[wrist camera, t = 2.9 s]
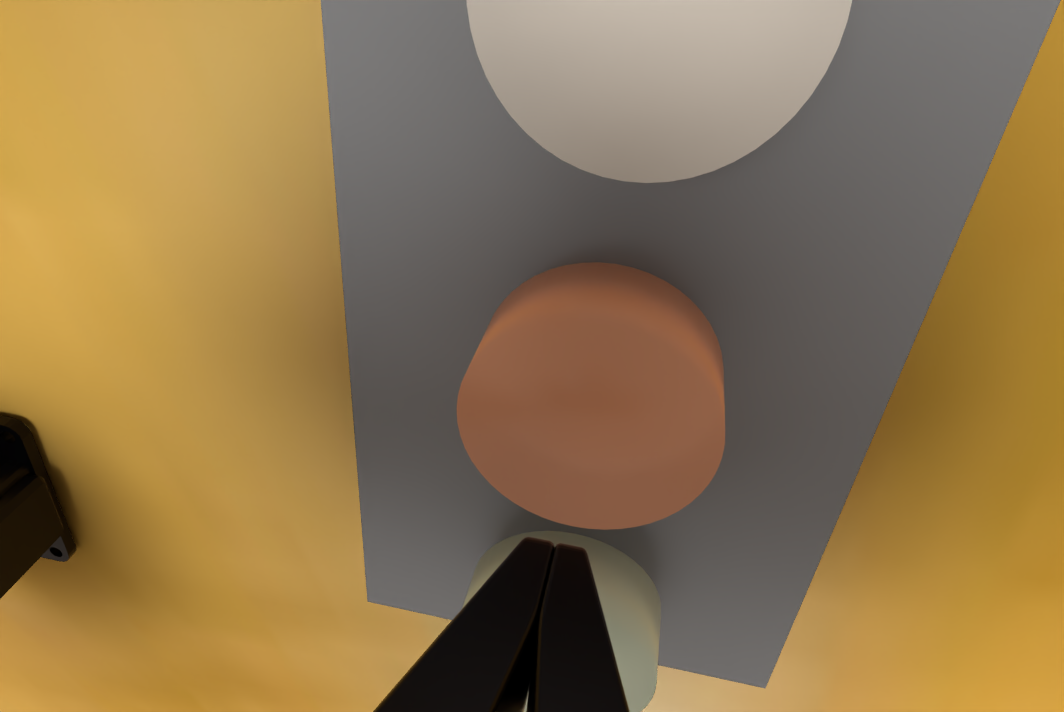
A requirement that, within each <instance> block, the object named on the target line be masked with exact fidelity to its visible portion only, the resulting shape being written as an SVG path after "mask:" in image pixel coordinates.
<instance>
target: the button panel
mask: <svg viewBox="0 0 1064 712" xmlns="http://www.w3.org/2000/svg"><path fill="white" fill-rule="evenodd" d="M1060 1H1061V0H852V4H851V8H850V13H849V17H848V21H847V24H846V27H845V30H844V33H843V35H842V38H841V41H840V44H839V47H838V49H837V51H836V53H835V55H834V57H833V59H832V61H831V63H830V65H829V67H828V69H827V71H826V73H825V75H824V76H823V78H822V79H821V81H820V83H819V84H818V86H817V87H816V89H815V90H814V92H813V93H812V95H811V96H810V98H809V99H808V100H807V101H806V102H805V104H804V105H803V106H802V107H801V108H800V110H799V111H798V112H797V113H796V115H795V116H794V117H793V118H792V119H791V120H790V121H789V122H788V123H787V124H786V125H784V126H783V127H782V128H781V129H780V130H779V131H778V132H777V133H776V134H775V135H774V136H772V137H771V138H770V139H768V140H767V141H766V142H765V143H763V144H762V145H761V146H759V147H758V148H757V149H755V150H754V151H752V152H750V153H749V154H747V155H745V156H743V157H742V158H740V159H738V160H737V161H735V162H733V163H731V164H728V165H726V166H724V167H721V168H719V169H717V170H715V171H712V172H709V173H706V174H702V175H699V176H696V177H692V178H688V179H682V180H676V181H671V182H657V183H639V182H626V181H620V180H615V179H610V178H605V177H601V176H598V175H595V174H592V173H589V172H587V171H584V170H581V169H579V168H577V167H575V166H573V165H571V164H569V163H567V162H565V161H563V160H561V159H559V158H558V157H556V156H555V155H553V154H552V153H550V152H549V151H547V150H546V149H544V148H543V147H542V146H541V145H539V144H538V143H537V142H536V141H535V140H534V139H532V138H531V137H530V136H529V135H528V134H527V133H526V132H525V131H524V130H523V129H522V128H521V127H520V126H519V125H518V124H517V123H516V121H515V120H514V119H513V118H512V117H511V116H510V114H509V113H508V112H507V110H506V109H505V107H504V106H503V105H502V103H501V102H500V100H499V99H498V98H497V96H496V94H495V92H494V90H493V88H492V87H491V85H490V83H489V81H488V79H487V77H486V75H485V73H484V70H483V68H482V65H481V63H480V60H479V58H478V55H477V52H476V48H475V45H474V41H473V37H472V34H471V30H470V23H469V17H468V10H467V1H466V0H321V9H322V22H323V35H324V47H325V60H326V73H327V86H328V99H329V112H330V125H331V137H332V150H333V163H334V176H335V189H336V202H337V215H338V227H339V240H340V253H341V266H342V279H343V292H344V305H345V317H346V330H347V343H348V356H349V369H350V382H351V395H352V407H353V420H354V433H355V446H356V459H357V472H358V485H359V497H360V510H361V523H362V536H363V549H364V562H365V575H366V587H367V600H368V602H372V603H377V604H381V605H386V606H390V607H395V608H400V609H404V610H409V611H413V612H418V613H422V614H427V615H432V616H436V617H441V618H445V619H450V620H453V619H454V618H455V616H456V615H457V614H458V613H459V612H460V611H461V609H462V607H463V604H464V601H465V598H466V595H467V592H468V589H469V586H470V583H471V580H472V577H473V574H474V571H475V568H476V566H477V563H478V562H479V560H480V558H481V557H482V556H483V555H484V554H485V552H486V551H487V550H489V549H490V548H491V547H492V546H494V545H495V544H497V543H499V542H500V541H502V540H504V539H507V538H509V537H512V536H515V535H519V534H523V533H528V532H535V531H560V532H567V533H574V534H578V535H582V536H587V537H590V538H593V539H596V540H598V541H601V542H603V543H606V544H608V545H610V546H612V547H614V548H616V549H618V550H619V551H621V552H623V553H624V554H626V555H627V556H628V557H630V558H631V559H633V560H634V561H635V562H636V563H637V564H638V565H639V566H640V567H642V568H643V570H644V571H645V572H646V573H647V574H648V575H649V577H650V578H651V580H652V581H653V583H654V585H655V587H656V589H657V591H658V594H659V597H660V602H661V621H660V637H659V652H658V665H661V666H665V667H670V668H674V669H679V670H684V671H688V672H693V673H697V674H702V675H707V676H711V677H716V678H720V679H725V680H729V681H734V682H739V683H743V684H748V685H752V686H757V687H761V688H766V685H767V683H768V681H769V678H770V676H771V674H772V671H773V669H774V667H775V664H776V662H777V660H778V657H779V655H780V653H781V650H782V648H783V646H784V643H785V641H786V639H787V636H788V634H789V632H790V630H791V627H792V625H793V623H794V620H795V618H796V616H797V613H798V611H799V609H800V606H801V604H802V602H803V599H804V597H805V595H806V592H807V590H808V588H809V585H810V583H811V581H812V578H813V576H814V574H815V571H816V569H817V567H818V564H819V562H820V560H821V557H822V555H823V553H824V550H825V548H826V546H827V543H828V541H829V539H830V536H831V534H832V532H833V529H834V527H835V525H836V522H837V520H838V518H839V515H840V513H841V511H842V508H843V506H844V504H845V501H846V499H847V497H848V494H849V492H850V490H851V487H852V485H853V483H854V480H855V478H856V476H857V473H858V471H859V469H860V466H861V464H862V462H863V459H864V457H865V455H866V452H867V450H868V448H869V445H870V443H871V441H872V438H873V436H874V434H875V432H876V429H877V427H878V425H879V422H880V420H881V418H882V415H883V413H884V411H885V408H886V406H887V404H888V401H889V399H890V397H891V394H892V392H893V390H894V387H895V385H896V383H897V380H898V378H899V376H900V373H901V371H902V369H903V366H904V364H905V362H906V359H907V357H908V355H909V352H910V350H911V348H912V345H913V343H914V341H915V338H916V336H917V334H918V331H919V329H920V327H921V324H922V322H923V320H924V317H925V315H926V313H927V310H928V308H929V306H930V303H931V301H932V299H933V296H934V294H935V292H936V289H937V287H938V285H939V282H940V280H941V278H942V275H943V273H944V271H945V268H946V266H947V264H948V261H949V259H950V257H951V254H952V252H953V250H954V247H955V245H956V243H957V240H958V238H959V236H960V233H961V231H962V229H963V227H964V224H965V222H966V220H967V217H968V215H969V213H970V210H971V208H972V206H973V203H974V201H975V199H976V196H977V194H978V192H979V189H980V187H981V185H982V182H983V180H984V178H985V175H986V173H987V171H988V168H989V166H990V164H991V161H992V159H993V157H994V154H995V152H996V150H997V147H998V145H999V143H1000V140H1001V138H1002V136H1003V133H1004V131H1005V129H1006V126H1007V124H1008V122H1009V119H1010V117H1011V115H1012V112H1013V110H1014V108H1015V105H1016V103H1017V101H1018V98H1019V96H1020V94H1021V91H1022V89H1023V87H1024V84H1025V82H1026V80H1027V77H1028V75H1029V73H1030V70H1031V68H1032V66H1033V63H1034V61H1035V59H1036V56H1037V54H1038V52H1039V49H1040V47H1041V45H1042V42H1043V40H1044V38H1045V35H1046V33H1047V31H1048V29H1049V26H1050V24H1051V22H1052V19H1053V17H1054V15H1055V12H1056V10H1057V8H1058V5H1059V3H1060ZM591 262H601V263H611V264H619V265H623V266H628V267H632V268H636V269H638V270H641V271H644V272H647V273H650V274H652V275H654V276H656V277H658V278H660V279H662V280H664V281H666V282H668V283H669V284H671V285H672V286H674V287H675V288H677V289H678V290H680V291H681V292H682V293H683V294H684V295H686V296H687V297H688V298H689V299H690V300H692V302H693V303H694V304H695V305H696V306H697V307H698V308H699V309H700V310H701V311H702V313H703V314H704V316H705V317H706V319H707V320H708V322H709V323H710V324H711V326H712V328H713V330H714V333H715V335H716V337H717V339H718V342H719V345H720V349H721V352H722V359H723V367H724V403H725V446H724V451H723V456H722V459H721V462H720V464H719V467H718V470H717V472H716V473H715V475H714V477H713V478H712V480H711V482H710V483H709V484H708V486H707V487H706V488H705V489H704V491H703V492H702V493H701V494H700V495H699V496H698V497H697V498H695V499H694V500H693V501H692V502H691V503H690V504H688V505H687V506H685V507H684V508H682V509H681V510H679V511H678V512H676V513H674V514H672V515H670V516H668V517H666V518H664V519H661V520H658V521H655V522H653V523H650V524H645V525H641V526H637V527H631V528H624V529H608V530H602V529H587V528H580V527H574V526H569V525H565V524H561V523H557V522H554V521H551V520H548V519H546V518H543V517H540V516H538V515H536V514H534V513H532V512H529V511H527V510H525V509H524V508H522V507H520V506H519V505H517V504H515V503H513V502H512V501H511V500H509V499H508V498H506V497H505V496H504V495H502V494H501V493H500V492H499V491H498V490H496V489H495V488H494V487H493V486H492V485H491V484H490V483H489V482H488V481H487V480H486V479H485V478H484V477H483V475H482V474H481V473H480V472H479V471H478V469H477V468H476V466H475V465H474V464H473V462H472V461H471V459H470V457H469V455H468V453H467V451H466V449H465V447H464V444H463V442H462V439H461V436H460V432H459V428H458V423H457V399H458V393H459V390H460V386H461V382H462V380H463V378H464V376H465V374H466V371H467V369H468V367H469V365H470V363H471V361H472V359H473V357H474V355H475V353H476V350H477V348H478V346H479V344H480V342H481V340H482V338H483V336H484V334H485V332H486V329H487V327H488V325H489V323H490V321H491V319H492V317H493V315H494V313H495V312H496V310H497V309H498V307H499V306H500V304H501V303H502V302H503V301H504V299H505V298H506V297H507V296H508V295H509V294H510V293H511V292H512V291H513V290H515V289H516V288H517V287H518V286H520V285H521V284H522V283H524V282H525V281H527V280H529V279H530V278H532V277H534V276H536V275H538V274H540V273H543V272H545V271H547V270H550V269H553V268H557V267H560V266H564V265H570V264H577V263H591Z"/></svg>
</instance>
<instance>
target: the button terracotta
mask: <svg viewBox="0 0 1064 712" xmlns="http://www.w3.org/2000/svg"><path fill="white" fill-rule="evenodd" d="M457 423H458V428H459V432H460V436H461V439H462V442H463V444H464V447H465V449H466V451H467V453H468V455H469V457H470V459H471V461H472V462H473V464H474V465H475V466H476V468H477V469H478V471H479V472H480V473H481V474H482V475H483V477H484V478H485V479H486V480H487V481H488V482H489V483H490V484H491V485H492V486H493V487H494V488H495V489H496V490H498V491H499V492H500V493H501V494H502V495H504V496H505V497H506V498H508V499H509V500H511V501H512V502H513V503H515V504H517V505H519V506H520V507H522V508H524V509H525V510H527V511H529V512H532V513H534V514H536V515H538V516H540V517H543V518H546V519H548V520H551V521H554V522H557V523H561V524H565V525H569V526H574V527H580V528H587V529H602V530H608V529H624V528H631V527H637V526H641V525H645V524H650V523H653V522H655V521H658V520H661V519H664V518H666V517H668V516H670V515H672V514H674V513H676V512H678V511H679V510H681V509H682V508H684V507H685V506H687V505H688V504H690V503H691V502H692V501H693V500H694V499H695V498H697V497H698V496H699V495H700V494H701V493H702V492H703V491H704V489H705V488H706V487H707V486H708V484H709V483H710V482H711V480H712V478H713V477H714V475H715V473H716V472H717V470H718V467H719V464H720V462H721V459H722V456H723V451H724V446H725V403H724V367H723V359H722V352H721V349H720V345H719V342H718V339H717V337H716V335H715V333H714V330H713V328H712V326H711V324H710V323H709V322H708V320H707V319H706V317H705V316H704V314H703V313H702V311H701V310H700V309H699V308H698V307H697V306H696V305H695V304H694V303H693V302H692V300H690V299H689V298H688V297H687V296H686V295H684V294H683V293H682V292H681V291H680V290H678V289H677V288H675V287H674V286H672V285H671V284H669V283H668V282H666V281H664V280H662V279H660V278H658V277H656V276H654V275H652V274H650V273H647V272H644V271H641V270H638V269H636V268H632V267H628V266H623V265H619V264H611V263H601V262H591V263H577V264H570V265H564V266H560V267H557V268H553V269H550V270H547V271H545V272H543V273H540V274H538V275H536V276H534V277H532V278H530V279H529V280H527V281H525V282H524V283H522V284H521V285H520V286H518V287H517V288H516V289H515V290H513V291H512V292H511V293H510V294H509V295H508V296H507V297H506V298H505V299H504V301H503V302H502V303H501V304H500V306H499V307H498V309H497V310H496V312H495V313H494V315H493V317H492V319H491V321H490V323H489V325H488V327H487V329H486V332H485V334H484V336H483V338H482V340H481V342H480V344H479V346H478V348H477V350H476V353H475V355H474V357H473V359H472V361H471V363H470V365H469V367H468V369H467V371H466V374H465V376H464V378H463V380H462V382H461V386H460V390H459V393H458V399H457Z"/></svg>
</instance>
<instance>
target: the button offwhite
mask: <svg viewBox="0 0 1064 712" xmlns="http://www.w3.org/2000/svg"><path fill="white" fill-rule="evenodd" d="M466 1H467V10H468V17H469V23H470V30H471V34H472V37H473V41H474V45H475V48H476V52H477V55H478V58H479V60H480V63H481V65H482V68H483V70H484V73H485V75H486V77H487V79H488V81H489V83H490V85H491V87H492V88H493V90H494V92H495V94H496V96H497V98H498V99H499V100H500V102H501V103H502V105H503V106H504V107H505V109H506V110H507V112H508V113H509V114H510V116H511V117H512V118H513V119H514V120H515V121H516V123H517V124H518V125H519V126H520V127H521V128H522V129H523V130H524V131H525V132H526V133H527V134H528V135H529V136H530V137H531V138H532V139H534V140H535V141H536V142H537V143H538V144H539V145H541V146H542V147H543V148H544V149H546V150H547V151H549V152H550V153H552V154H553V155H555V156H556V157H558V158H559V159H561V160H563V161H565V162H567V163H569V164H571V165H573V166H575V167H577V168H579V169H581V170H584V171H587V172H589V173H592V174H595V175H598V176H601V177H605V178H610V179H615V180H620V181H626V182H639V183H657V182H671V181H676V180H682V179H688V178H692V177H696V176H699V175H702V174H706V173H709V172H712V171H715V170H717V169H719V168H721V167H724V166H726V165H728V164H731V163H733V162H735V161H737V160H738V159H740V158H742V157H743V156H745V155H747V154H749V153H750V152H752V151H754V150H755V149H757V148H758V147H759V146H761V145H762V144H763V143H765V142H766V141H767V140H768V139H770V138H771V137H772V136H774V135H775V134H776V133H777V132H778V131H779V130H780V129H781V128H782V127H783V126H784V125H786V124H787V123H788V122H789V121H790V120H791V119H792V118H793V117H794V116H795V115H796V113H797V112H798V111H799V110H800V108H801V107H802V106H803V105H804V104H805V102H806V101H807V100H808V99H809V98H810V96H811V95H812V93H813V92H814V90H815V89H816V87H817V86H818V84H819V83H820V81H821V79H822V78H823V76H824V75H825V73H826V71H827V69H828V67H829V65H830V63H831V61H832V59H833V57H834V55H835V53H836V51H837V49H838V47H839V44H840V41H841V38H842V35H843V33H844V30H845V27H846V24H847V21H848V17H849V13H850V8H851V4H852V0H466Z"/></svg>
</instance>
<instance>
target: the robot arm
mask: <svg viewBox="0 0 1064 712" xmlns="http://www.w3.org/2000/svg"><path fill="white" fill-rule="evenodd" d="M75 551H76V546H75V543H74V540H73V538H72V535H71V533H70V530H69V528H68V525H67V523H66V520H65V517H64V515H63V512H62V510H61V507H60V505H59V502H58V500H57V497H56V495H55V492H54V489H53V487H52V484H51V482H50V479H49V477H48V474H47V472H46V469H45V467H44V464H43V461H42V459H41V456H40V454H39V451H38V449H37V446H36V444H35V441H34V439H33V436H32V433H31V431H30V430H29V428H28V427H27V426H26V425H25V424H24V423H22V422H21V421H19V420H17V419H14V418H11V417H6V416H1V415H0V599H1V597H2V596H3V595H4V594H5V593H6V592H7V591H8V590H9V589H10V588H11V587H12V586H13V585H14V584H15V583H16V582H17V581H18V580H19V579H20V578H21V577H22V576H23V575H24V574H25V573H26V571H27V570H28V569H29V568H30V567H31V566H32V565H33V564H34V563H35V562H36V561H37V560H38V559H39V558H40V557H43V558H47V559H52V560H56V561H62V562H65V561H67V560H68V559H69V558H70V557H71V556H72V555H73V554H74V553H75ZM528 692H529V693H528ZM527 697H528V701H527ZM526 701H527V709H526V712H630V711H629V707H628V703H627V700H626V696H625V692H624V688H623V685H622V681H621V677H620V673H619V670H618V666H617V662H616V658H615V655H614V651H613V647H612V643H611V640H610V636H609V632H608V628H607V625H606V621H605V617H604V613H603V610H602V606H601V602H600V598H599V595H598V591H597V587H596V583H595V580H594V576H593V572H592V568H591V565H590V561H589V557H588V554H587V552H586V550H585V549H584V548H582V547H578V546H573V545H568V544H563V543H559V544H557V545H556V546H555V548H554V544H553V543H552V542H551V541H548V540H543V539H538V538H533V537H526V538H524V539H522V540H521V541H520V542H519V544H518V545H517V546H516V547H515V548H514V549H513V551H512V552H511V553H510V554H509V555H508V556H507V557H506V559H505V560H504V561H503V562H502V563H501V564H500V566H499V567H498V568H497V569H496V570H495V571H494V573H493V574H492V575H491V576H490V577H489V578H488V579H487V581H486V582H485V583H484V584H483V585H482V586H481V588H480V589H479V590H478V591H477V592H476V593H475V594H474V596H473V597H472V598H471V599H470V600H469V601H468V603H467V604H466V605H465V606H464V607H463V608H462V609H461V611H460V612H459V613H458V614H457V615H456V616H455V618H454V619H453V620H452V621H451V622H450V623H449V624H448V626H447V627H446V628H445V629H444V630H443V631H442V633H441V634H440V635H439V636H438V637H437V638H436V640H435V641H434V642H433V643H432V644H431V645H430V646H429V648H428V649H427V650H426V651H425V652H424V653H423V655H422V656H421V657H420V658H419V659H418V660H417V661H416V663H415V664H414V665H413V666H412V667H411V668H410V670H409V671H408V672H407V673H406V674H405V675H404V676H403V678H402V679H401V680H400V681H399V682H398V683H397V685H396V686H395V687H394V688H393V689H392V690H391V691H390V693H389V694H388V695H387V696H386V697H385V698H384V700H383V701H382V702H381V703H380V704H379V705H378V707H377V708H376V709H375V710H374V711H373V712H524V709H525V705H526Z"/></svg>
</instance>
